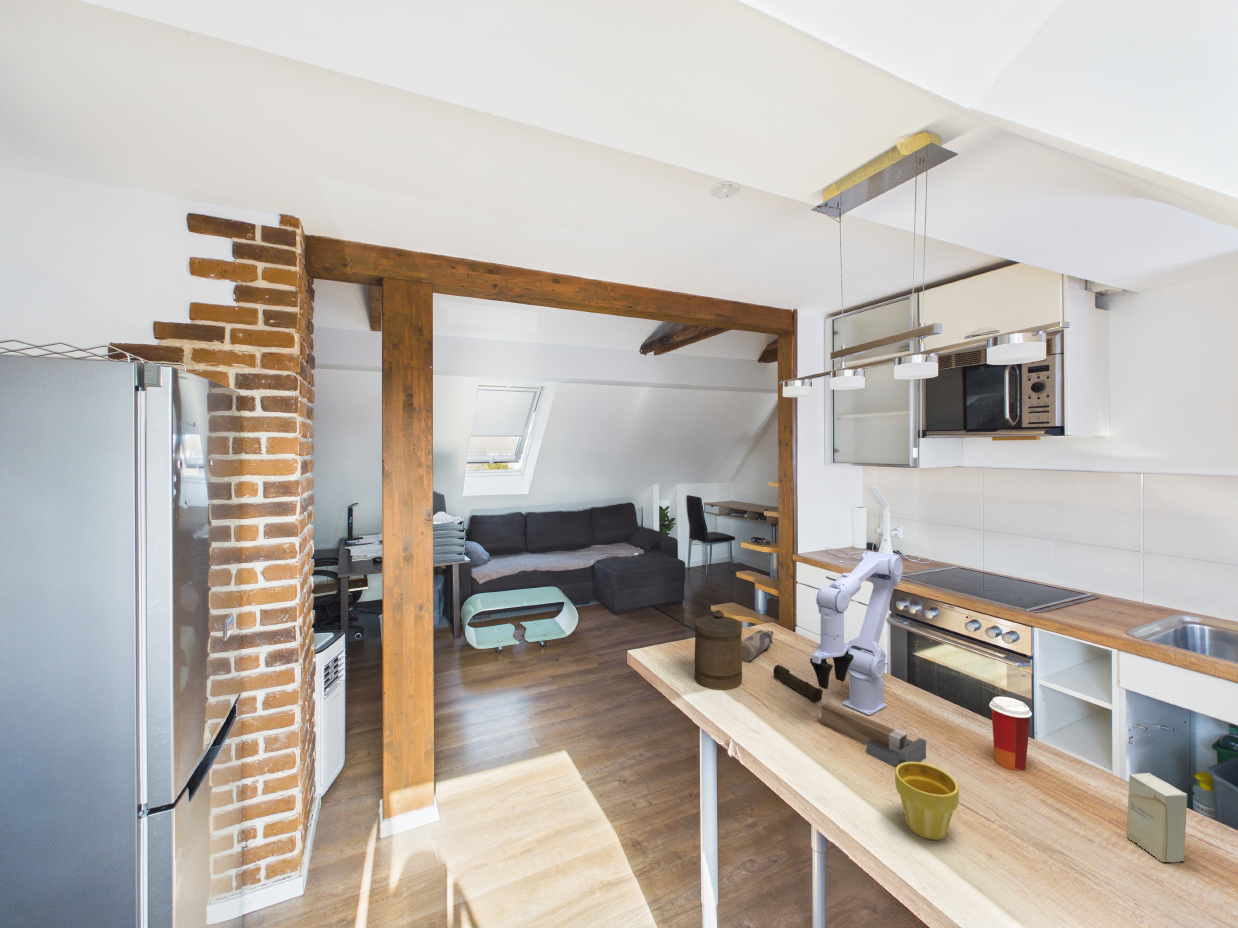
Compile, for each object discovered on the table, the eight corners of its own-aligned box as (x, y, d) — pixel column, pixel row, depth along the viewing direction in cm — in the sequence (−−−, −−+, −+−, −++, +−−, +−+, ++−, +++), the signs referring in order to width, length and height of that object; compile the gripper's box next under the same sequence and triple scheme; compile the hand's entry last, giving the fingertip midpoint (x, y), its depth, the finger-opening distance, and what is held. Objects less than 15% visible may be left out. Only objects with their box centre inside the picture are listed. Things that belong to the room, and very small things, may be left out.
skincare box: (1125, 837, 95) (1126, 772, 95) (1147, 835, 95) (1148, 771, 95) (1164, 864, 88) (1165, 795, 88) (1187, 862, 89) (1188, 793, 89)
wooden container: (748, 676, 165) (748, 608, 164) (732, 694, 152) (732, 621, 152) (705, 666, 173) (705, 601, 172) (686, 682, 160) (686, 613, 160)
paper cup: (1023, 757, 120) (1023, 698, 120) (1037, 776, 113) (1038, 713, 112) (983, 751, 122) (984, 693, 122) (995, 769, 115) (995, 708, 115)
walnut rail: (829, 720, 137) (829, 700, 137) (906, 755, 121) (906, 733, 121) (821, 724, 135) (821, 704, 135) (899, 760, 119) (899, 738, 119)
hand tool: (823, 701, 148) (823, 685, 148) (812, 704, 147) (812, 687, 147) (781, 675, 166) (780, 661, 166) (770, 677, 164) (770, 663, 164)
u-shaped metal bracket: (887, 739, 127) (887, 724, 127) (926, 757, 120) (926, 740, 120) (866, 752, 122) (866, 735, 122) (905, 771, 115) (905, 754, 115)
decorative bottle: (753, 664, 174) (753, 645, 174) (733, 659, 179) (732, 640, 179) (782, 642, 194) (782, 625, 194) (763, 638, 199) (763, 621, 198)
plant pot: (933, 855, 91) (934, 801, 91) (883, 817, 100) (883, 768, 100) (971, 837, 95) (971, 785, 95) (919, 803, 104) (919, 755, 104)
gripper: (834, 623, 143) (834, 672, 143) (802, 633, 135) (801, 685, 135) (858, 630, 137) (858, 681, 137) (826, 641, 129) (825, 695, 129)
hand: (831, 683), depth 136 cm, fingers open, 7 cm apart
